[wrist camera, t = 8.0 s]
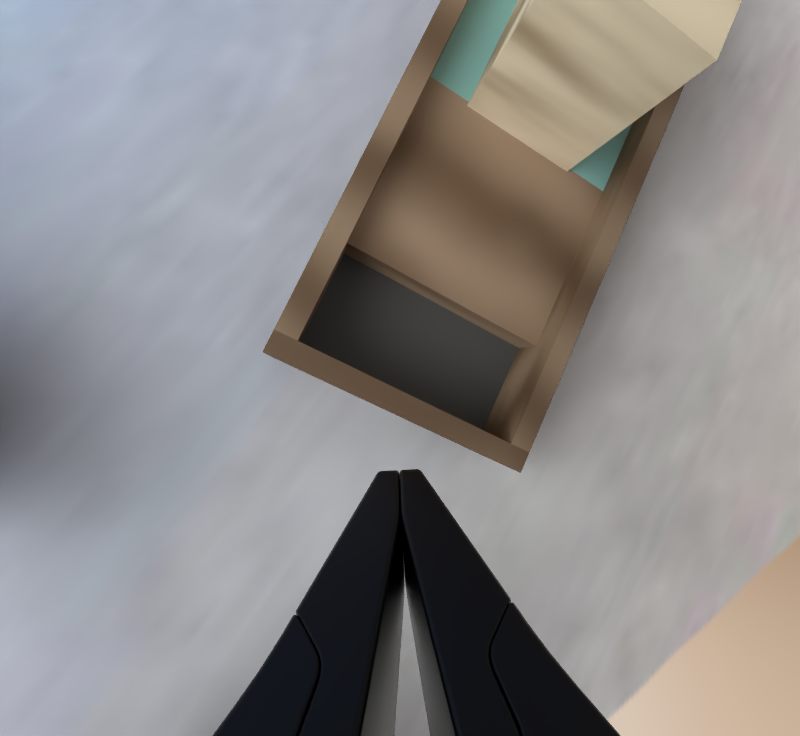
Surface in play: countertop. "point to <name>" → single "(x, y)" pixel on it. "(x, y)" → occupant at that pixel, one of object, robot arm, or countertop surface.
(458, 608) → the robot arm
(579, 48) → the maple block
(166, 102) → the countertop surface
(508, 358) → the box
